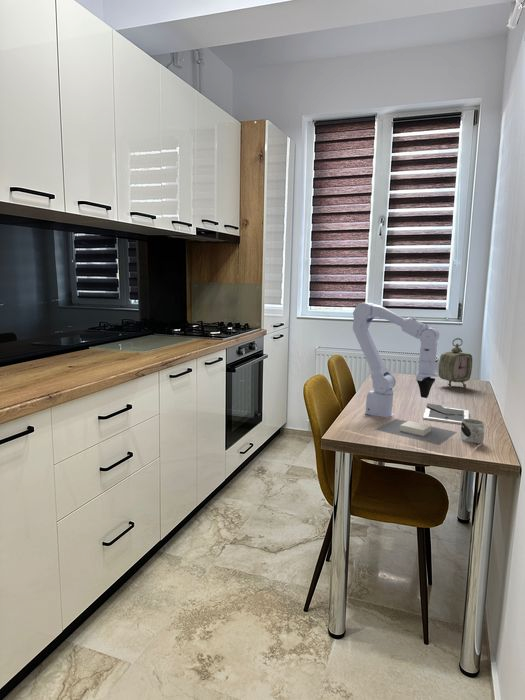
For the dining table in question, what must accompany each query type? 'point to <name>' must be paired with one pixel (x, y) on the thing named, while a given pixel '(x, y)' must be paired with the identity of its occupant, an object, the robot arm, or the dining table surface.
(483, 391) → the dining table surface
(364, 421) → the dining table surface
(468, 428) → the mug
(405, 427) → the tile
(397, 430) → the mat
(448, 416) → the picture frame
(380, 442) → the dining table surface
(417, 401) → the dining table surface
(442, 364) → the tabletop clock
